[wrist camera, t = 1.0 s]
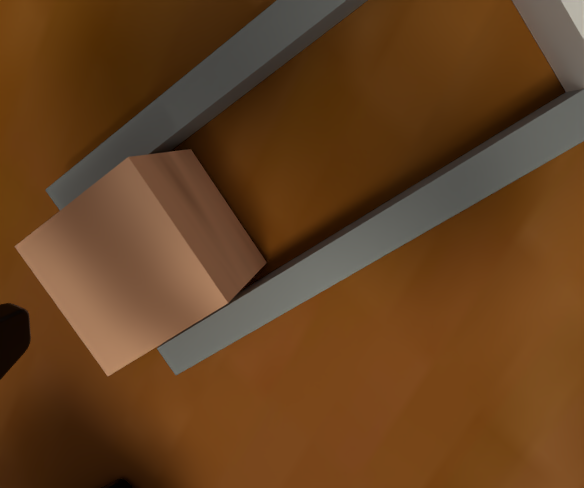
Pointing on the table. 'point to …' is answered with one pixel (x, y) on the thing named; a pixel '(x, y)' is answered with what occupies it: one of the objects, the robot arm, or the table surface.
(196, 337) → the chute
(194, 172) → the block
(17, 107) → the table surface
